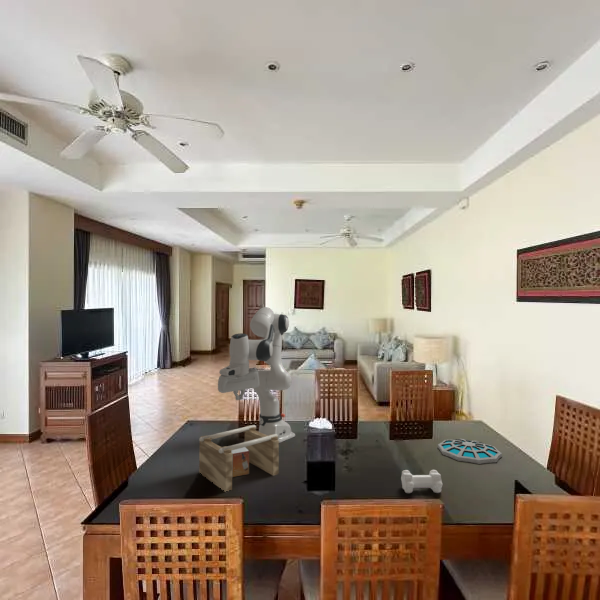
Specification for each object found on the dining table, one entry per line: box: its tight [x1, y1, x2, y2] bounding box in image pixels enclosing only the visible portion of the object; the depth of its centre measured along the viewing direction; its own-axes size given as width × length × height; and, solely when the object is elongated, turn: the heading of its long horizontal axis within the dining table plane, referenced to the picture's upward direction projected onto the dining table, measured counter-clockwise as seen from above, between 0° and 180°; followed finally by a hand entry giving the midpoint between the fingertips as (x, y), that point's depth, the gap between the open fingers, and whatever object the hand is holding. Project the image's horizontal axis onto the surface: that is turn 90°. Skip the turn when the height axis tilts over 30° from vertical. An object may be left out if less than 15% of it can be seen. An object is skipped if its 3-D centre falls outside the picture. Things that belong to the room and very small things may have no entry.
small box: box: [231, 447, 250, 478], centre depth 174 cm, size 8×6×10 cm
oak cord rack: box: [198, 424, 280, 493], centre depth 174 cm, size 27×24×16 cm
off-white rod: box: [219, 434, 278, 453], centre depth 167 cm, size 30×2×2 cm, turn 130°
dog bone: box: [400, 469, 444, 494], centre depth 158 cm, size 15×9×8 cm, turn 91°
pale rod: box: [198, 424, 257, 443], centre depth 181 cm, size 30×2×2 cm, turn 130°
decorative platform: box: [437, 438, 503, 465], centre depth 200 cm, size 31×29×5 cm
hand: (239, 399), depth 175 cm, fingers closed
